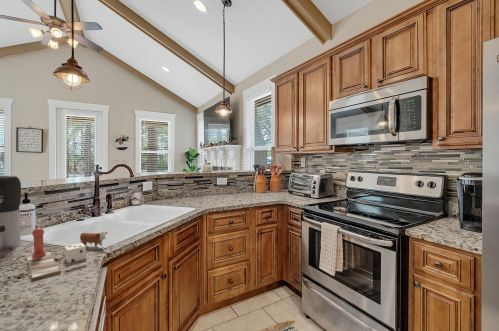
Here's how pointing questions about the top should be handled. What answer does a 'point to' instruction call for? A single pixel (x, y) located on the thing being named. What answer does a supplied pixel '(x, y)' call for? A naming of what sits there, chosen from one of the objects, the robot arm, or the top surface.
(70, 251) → the die
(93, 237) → the bull figurine
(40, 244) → the pawn
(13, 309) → the top surface
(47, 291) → the top surface
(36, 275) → the track board
